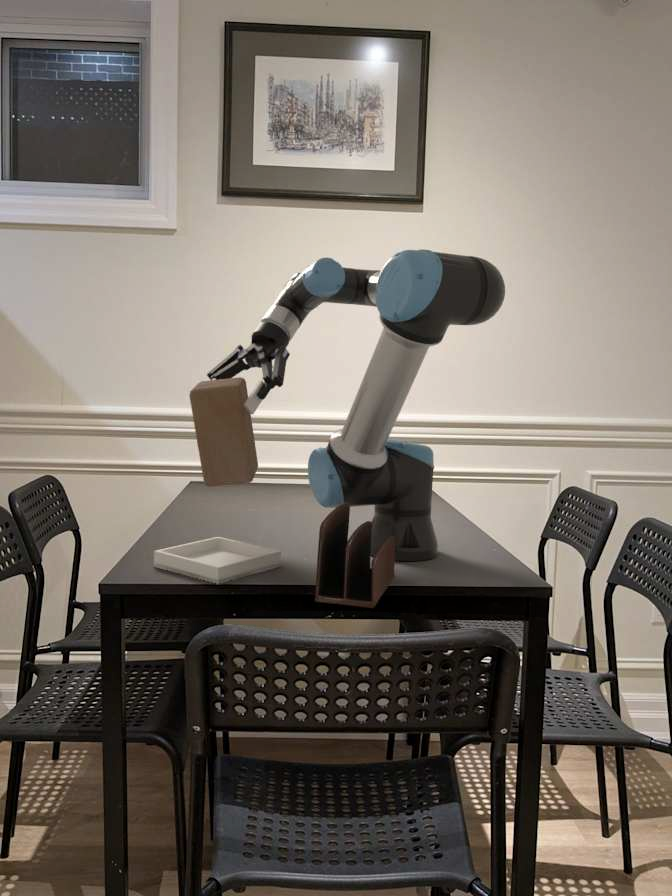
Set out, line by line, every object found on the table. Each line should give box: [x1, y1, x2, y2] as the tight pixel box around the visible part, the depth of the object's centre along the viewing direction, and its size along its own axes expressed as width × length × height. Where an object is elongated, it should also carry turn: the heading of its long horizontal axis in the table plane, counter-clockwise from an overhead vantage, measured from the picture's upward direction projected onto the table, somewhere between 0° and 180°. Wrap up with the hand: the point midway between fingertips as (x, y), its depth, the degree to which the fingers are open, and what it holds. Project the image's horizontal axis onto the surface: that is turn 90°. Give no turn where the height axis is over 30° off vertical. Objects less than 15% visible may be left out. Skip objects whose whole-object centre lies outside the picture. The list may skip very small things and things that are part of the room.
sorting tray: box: [153, 536, 282, 585], centre depth 149 cm, size 17×17×3 cm
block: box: [188, 377, 259, 488], centre depth 161 cm, size 10×10×20 cm
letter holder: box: [314, 504, 396, 609], centre depth 137 cm, size 10×20×14 cm, turn 166°
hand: (224, 408), depth 160 cm, fingers closed on block, 13 cm apart
